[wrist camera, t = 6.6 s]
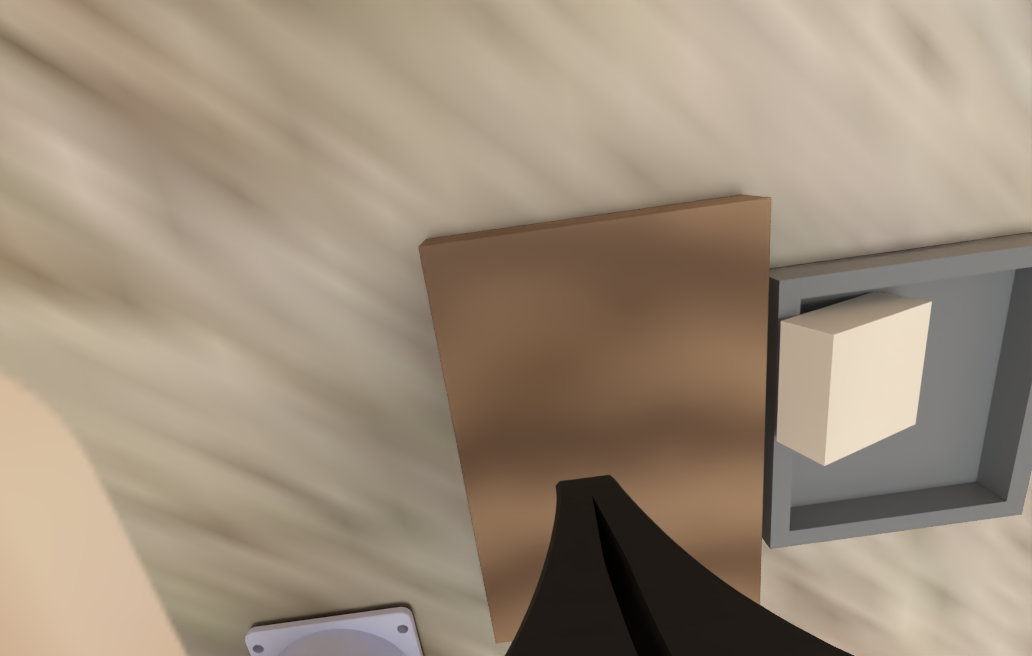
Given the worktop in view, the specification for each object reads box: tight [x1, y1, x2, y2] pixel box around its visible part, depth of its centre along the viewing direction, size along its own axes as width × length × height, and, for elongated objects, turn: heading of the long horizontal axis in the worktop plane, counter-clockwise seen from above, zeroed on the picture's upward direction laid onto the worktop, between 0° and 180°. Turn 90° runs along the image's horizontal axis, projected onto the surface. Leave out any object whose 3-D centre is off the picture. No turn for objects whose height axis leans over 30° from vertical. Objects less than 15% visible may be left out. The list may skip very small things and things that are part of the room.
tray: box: [762, 232, 1032, 549], centre depth 20 cm, size 12×11×2 cm
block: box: [776, 292, 932, 466], centre depth 18 cm, size 5×5×2 cm
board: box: [419, 195, 771, 643], centre depth 20 cm, size 18×12×2 cm, turn 8°
